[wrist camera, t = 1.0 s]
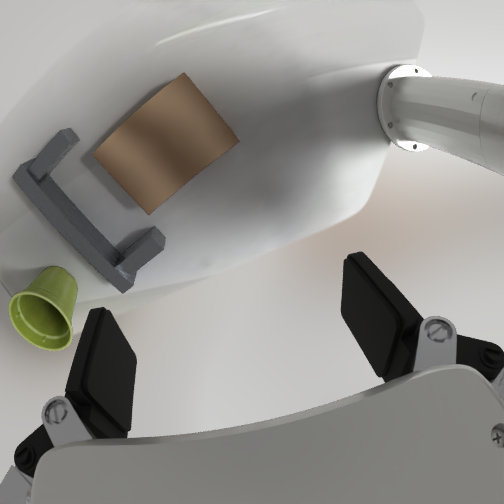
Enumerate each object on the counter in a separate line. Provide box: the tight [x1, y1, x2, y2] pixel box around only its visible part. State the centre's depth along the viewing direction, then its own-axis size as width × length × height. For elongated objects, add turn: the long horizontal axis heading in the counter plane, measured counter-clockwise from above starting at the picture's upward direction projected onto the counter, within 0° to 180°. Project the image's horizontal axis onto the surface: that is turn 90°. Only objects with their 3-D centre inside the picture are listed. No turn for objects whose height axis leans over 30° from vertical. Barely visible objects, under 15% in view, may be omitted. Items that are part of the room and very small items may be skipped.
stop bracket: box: [13, 128, 165, 294], centre depth 29 cm, size 8×20×4 cm, turn 34°
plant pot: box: [8, 266, 78, 351], centre depth 30 cm, size 9×9×9 cm
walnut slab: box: [92, 73, 240, 215], centre depth 27 cm, size 12×9×4 cm
